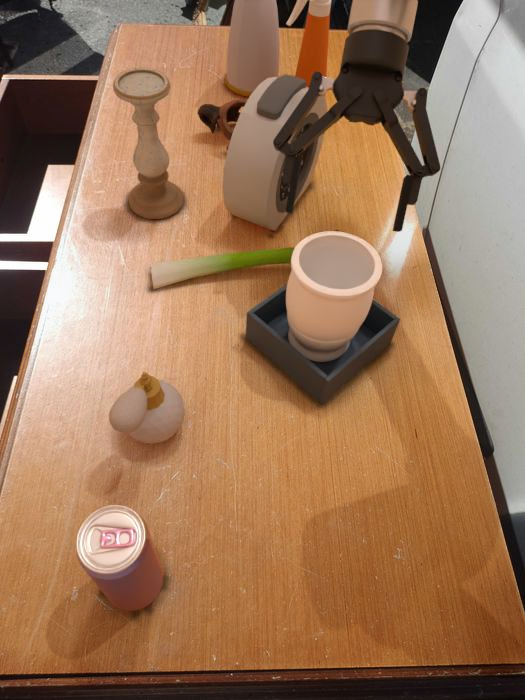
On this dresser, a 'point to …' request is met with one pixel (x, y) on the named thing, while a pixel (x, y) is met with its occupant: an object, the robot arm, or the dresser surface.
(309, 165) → the alarm clock
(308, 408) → the dresser surface
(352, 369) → the tray
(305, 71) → the spray bottle
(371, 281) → the jar
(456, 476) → the dresser surface
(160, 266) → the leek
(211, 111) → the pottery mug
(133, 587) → the beverage can
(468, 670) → the dresser surface
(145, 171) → the candle holder
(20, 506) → the dresser surface
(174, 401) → the perfume bottle
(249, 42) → the soap bottle
